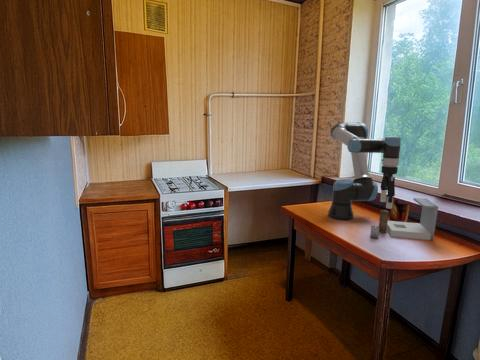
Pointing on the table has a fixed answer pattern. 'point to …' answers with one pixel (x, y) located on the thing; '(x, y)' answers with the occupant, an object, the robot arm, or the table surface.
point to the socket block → (417, 229)
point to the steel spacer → (374, 232)
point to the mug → (399, 212)
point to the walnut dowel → (383, 221)
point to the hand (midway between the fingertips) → (385, 205)
